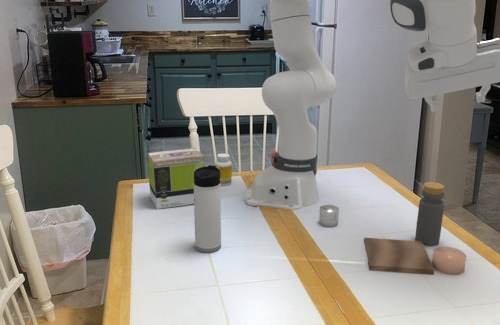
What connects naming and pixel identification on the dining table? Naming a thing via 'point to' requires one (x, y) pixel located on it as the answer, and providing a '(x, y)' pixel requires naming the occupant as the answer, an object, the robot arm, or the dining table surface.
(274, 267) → the dining table surface
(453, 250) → the peach dome knob
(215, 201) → the travel mug
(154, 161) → the tea box
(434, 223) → the bottle
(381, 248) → the board
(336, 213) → the tin
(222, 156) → the supplement bottle
